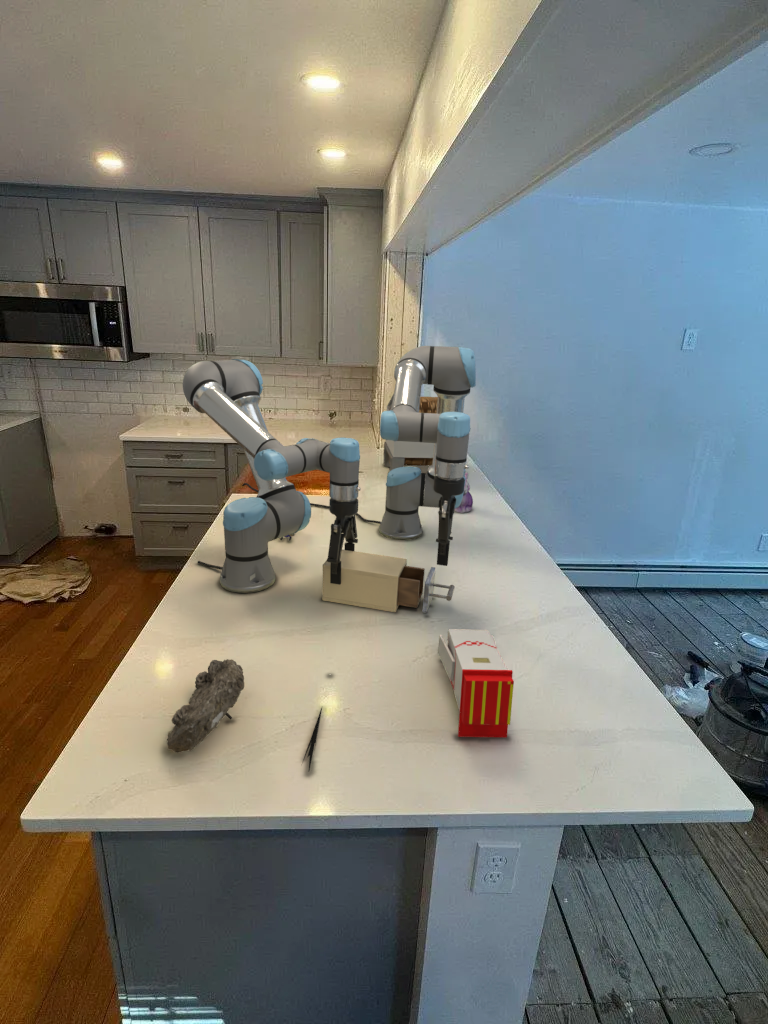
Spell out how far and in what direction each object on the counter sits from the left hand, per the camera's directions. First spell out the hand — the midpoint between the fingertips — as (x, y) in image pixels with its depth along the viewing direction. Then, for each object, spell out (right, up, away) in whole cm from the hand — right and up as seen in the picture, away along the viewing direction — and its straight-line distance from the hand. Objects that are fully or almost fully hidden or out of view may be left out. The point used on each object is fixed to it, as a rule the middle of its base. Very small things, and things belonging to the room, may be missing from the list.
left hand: (342, 573), depth 155 cm
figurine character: (-22, +9, +39) cm, 46 cm away
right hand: (+26, +3, -8) cm, 28 cm away
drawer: (+17, -7, -2) cm, 19 cm away
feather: (-1, -23, -46) cm, 52 cm away
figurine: (+43, +18, +72) cm, 86 cm away
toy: (+29, -21, -36) cm, 51 cm away
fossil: (-21, -22, -47) cm, 56 cm away
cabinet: (+6, -6, +1) cm, 9 cm away
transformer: (+29, +36, +120) cm, 128 cm away
